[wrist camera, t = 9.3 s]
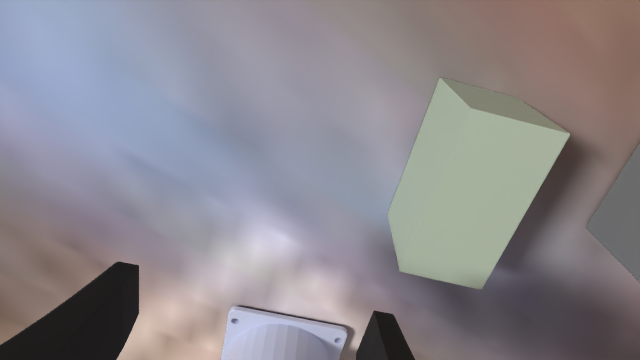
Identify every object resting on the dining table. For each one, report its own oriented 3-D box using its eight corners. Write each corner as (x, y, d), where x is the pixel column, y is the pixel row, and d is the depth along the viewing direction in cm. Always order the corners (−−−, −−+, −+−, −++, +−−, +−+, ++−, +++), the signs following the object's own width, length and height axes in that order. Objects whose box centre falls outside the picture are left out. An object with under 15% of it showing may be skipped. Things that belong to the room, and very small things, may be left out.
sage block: (453, 229, 23) (481, 289, 19) (387, 213, 23) (399, 271, 18) (517, 97, 20) (570, 133, 15) (440, 77, 19) (471, 108, 15)
